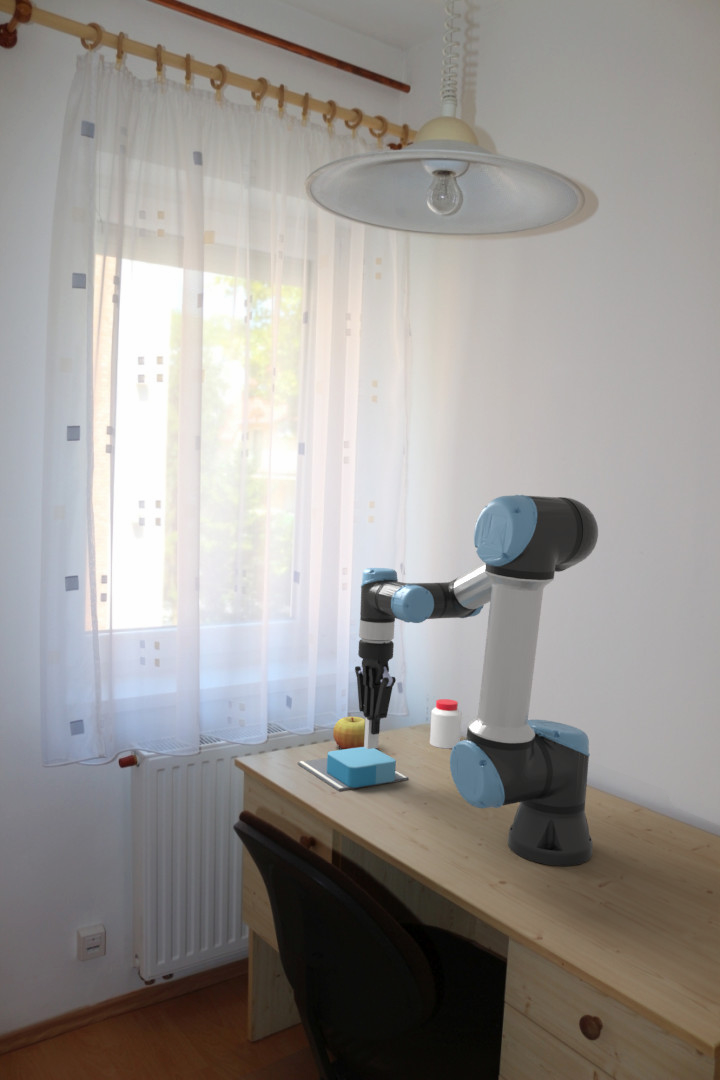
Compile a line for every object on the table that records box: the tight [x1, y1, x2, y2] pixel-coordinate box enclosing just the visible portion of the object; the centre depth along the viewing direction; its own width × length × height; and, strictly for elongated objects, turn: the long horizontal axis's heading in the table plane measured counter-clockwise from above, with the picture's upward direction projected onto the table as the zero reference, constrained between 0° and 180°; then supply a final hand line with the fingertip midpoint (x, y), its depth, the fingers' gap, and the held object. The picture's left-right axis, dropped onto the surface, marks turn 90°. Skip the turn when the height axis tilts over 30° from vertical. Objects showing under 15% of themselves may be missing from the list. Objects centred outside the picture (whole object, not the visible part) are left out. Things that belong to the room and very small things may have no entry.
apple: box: [332, 716, 365, 750], centre depth 213 cm, size 10×10×8 cm
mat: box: [297, 757, 409, 792], centre depth 196 cm, size 19×18×1 cm
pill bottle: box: [429, 698, 462, 750], centre depth 220 cm, size 8×8×11 cm
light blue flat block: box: [326, 747, 397, 788], centre depth 192 cm, size 12×4×12 cm
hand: (371, 747), depth 187 cm, fingers closed
